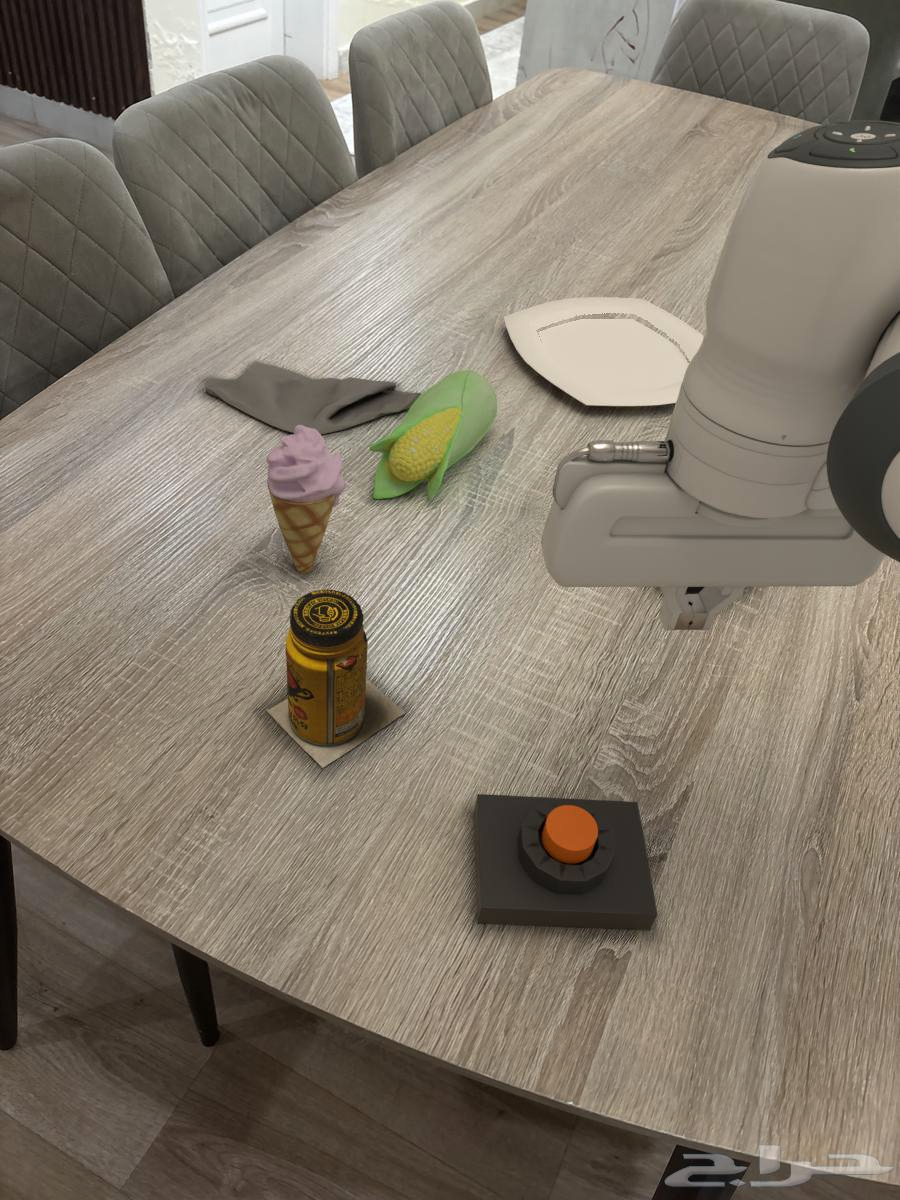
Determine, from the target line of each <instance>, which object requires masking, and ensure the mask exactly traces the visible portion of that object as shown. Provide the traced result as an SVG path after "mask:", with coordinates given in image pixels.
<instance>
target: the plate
mask: <svg viewBox="0 0 900 1200" xmlns="http://www.w3.org/2000/svg"><path fill="white" fill-rule="evenodd" d="M602 313H603V314H604V313H605V314H606V313H612V314H613V313H616V314H617V313H620V314H621V313H624V314H626V313H627V314H630V313H631V314H635V315H637V316H638V317H641V318H643V319H644V320H648V322H650V323H651V324H652V325H654V327H656V328H658V329H659V330H662V332H665V333H666V334H667V336H669V337H670V338H671V339H674V341H676V342H677V343H678V344H680V348H682V350H683V351H684V352H685V354H686V355H687V358H688V359H689V361H691V360H692V358H693V357H694V356H695V354H696V353H697V351H698V349H699V348H700V346H701V343H702V341H703V337H704V334H702V333H700V332H699V331H698V330H697V329H695V328H694V327H693V326H691V325H690V324H688V323H686V322H685V321H683V320H681V319H680V318H679V317H676V316H675V315H673V314H671V313H670V312H668V311H666V310H664V309H662V308H661V307H659V306H657V305H656V304H653V303H651V302H649V301H648V300H645V299H643V298H638V297H637V298H635V297H634V298H633V297H613V296H612V297H610V296H608V297H607V296H593V297H591V296H589V297H587V296H585V297H584V296H583V297H573V298H572V297H571V298H570V297H569V298H562V299H557V300H556V299H555V300H552V301H551V300H550V301H547V302H544V303H539V304H537V305H533V306H530V307H527V308H524V309H522V310H518V311H516V312H513V313H510V314H507V315H505V316H503V321H504V324H505V328H506V330H507V333H508V335H509V338H510V341H511V343H512V344H513V346H514V348H515V350H516V352H517V353H518V354H519V356H520V357H521V359H522V360H523V361H524V363H525V364H526V365H527V366H528V367H530V368H531V370H533V371H534V372H535V373H537V375H539V376H540V377H541V378H543V379H544V380H546V381H547V382H548V383H550V384H551V385H552V386H554V387H555V388H557V389H558V390H560V391H561V392H563V393H564V394H565V395H567V396H569V397H570V398H572V399H574V400H575V401H576V402H579V403H580V404H581V405H583V406H585V407H592V408H593V407H594V408H595V407H599V408H649V407H650V408H651V407H661V406H662V407H663V406H670V405H676V401H677V398H678V395H679V391H680V388H681V384H682V383H683V378H684V374H685V372H686V369H687V367H688V365H689V363H688V362H687V360H686V359H685V357H684V356H683V354H682V353H681V352H680V351H679V349H678V348H677V347H676V346H675V345H674V344H673V343H672V342H670V341H669V340H667V339H666V338H664V337H663V336H661V335H660V334H658V333H656V332H655V331H653V330H651V329H650V328H648V327H646V326H644V325H643V324H641V323H639V322H637V321H635V320H634V319H580V320H576V321H572V322H568V323H564V324H561V325H558V326H555V327H551V328H548V329H546V330H543V331H540V332H538V333H539V335H538V333H537V331H536V330H538V329H539V328H541V327H545V326H548V325H550V324H552V323H557V322H559V321H562V320H563V319H564V320H566V319H569V318H573V317H575V316H576V315H577V316H579V315H584V314H585V315H588V314H590V315H592V314H602ZM539 336H540V337H539ZM540 339H541V340H540ZM541 341H542V342H541Z"/></svg>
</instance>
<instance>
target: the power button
mask: <svg viewBox="0 0 900 1200" xmlns="http://www.w3.org/2000/svg"><path fill="white" fill-rule="evenodd" d="M597 836H598V827H597V824H596V822H595V820H594V818H593V817H592V816H591V815H590V814H589V813H588V812H587V811H586V810H584V809H582V808H580V807H577V806H573V805H563V806H559V807H557V808H555V809H554V810H552V811H551V812H550V813H549V815H548V817H547V819H546V823H545V826H544V829H543V833H542V843H543V846H544V848H545V850H546V851H547V852H548V854H549V855H550V856H551V857H553V858H554V859H556V860H558V861H560V862H562V863H567V864H576V863H580V862H582V861H584V860H586V859H587V858H588V857H589V856H590V854H591V852H592V850H593V847H594V845H595V842H596V839H597Z"/></svg>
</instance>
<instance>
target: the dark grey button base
mask: <svg viewBox="0 0 900 1200" xmlns="http://www.w3.org/2000/svg"><path fill="white" fill-rule="evenodd" d="M475 800H476V801H475V803H474V808H473V817H474V819H473V821H474V823H473V824H474V852H475V853H474V854H475V858H474V859H475V886H476V887H475V889H476V890H475V891H476V918H477V919H476V921H477V923H476V924H487V925H488V924H489V925H511V926H513V925H514V926H537V927H561V928H563V927H565V928H584V929H585V928H587V929H589V928H590V929H591V928H592V929H613V930H636V931H638V930H639V931H650V930H651V929H652V927H653V925H654V923H655V921H656V919H657V917H658V909H657V903H656V897H655V893H654V887H653V880H652V875H651V870H650V864H649V858H648V854H647V847H646V840H645V837H644V836H645V835H644V831H643V825H642V819H641V813H640V807H639V802H638V801H627V800H626V801H625V800H608V799H607V800H606V799H604V800H603V799H586V798H568V797H567V798H566V797H545V796H529V795H528V796H527V795H526V796H525V795H505V794H488V793H487V794H486V793H477V794H476V799H475ZM563 805H573V806H577V807H580V808H582V809H584V810H586V811H587V812H588V813H589V814H590V815H591V816H592V817H593V818H594V820H595V822H596V824H597V827H598V836H597V839H596V842H595V845H594V847H593V850H592V852H591V854H590V856H589V857H588V858H587V859H586V860H584V861H582V862H580V863H576V864H567V863H562V862H560V861H558V860H556V859H554V858H553V857H551V856H550V855H549V854H548V852H547V851H546V850H545V848H544V846H543V843H542V833H543V829H544V826H545V823H546V819H547V817H548V815H549V813H550V812H551V811H552V810H554V809H555V808H557V807H559V806H563Z"/></svg>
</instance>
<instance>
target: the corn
mask: <svg viewBox="0 0 900 1200" xmlns="http://www.w3.org/2000/svg"><path fill="white" fill-rule="evenodd" d="M420 394H421V395H420V396H419V398H418V399H417V400H416V401H415V402H414V403H413V405H412V406H411V407H410V408H408V411H407V412H406V414H405V416H404V418H403V419H402V421H401V422H400V423H399V424H397V426H396V427H395V428H394V429H393V430H392V431H391V433H390V434H389V435H387V436H385V437H384V438H382V439H379V440H378V441H375V443H373V444H371V445H370V446H369V451H371V452H373V453H382V454H381V458H380V460H379V462H378V464H377V466H376V470H375V475H374V487H373V494H372V497H373V499H374V500H384V499H393V498H397V497H400V496H402V495H405V494H406V493H408V492H410V491H412V490H413V489H415V488H416V487H417V486H419V484H421V483H423V482H425V481H427V484H426V492H427V495H428V500H432V499H433V498H434V497H435V496H436V494H437V493H438V491H439V489H440V487H441V486H442V482H443V479H444V475H445V473H446V471H447V470H448V469H449V468H451V466H453V465H454V464H456V463H457V462H459V461H461V459H463V458H464V457H465V456H467V455H468V454H469V453H470V452H472V451H473V450H474V449H475V447H476V446H477V445H478V444H479V443H480V441H482V439H483V438H484V437H485V435H486V434H487V433H488V432H489V430H490V429H491V428H492V427H493V425H494V423H495V420H496V418H497V416H498V398H497V394H496V391H495V389H494V387H493V385H492V384H491V382H490V381H489V379H488V378H486V377H485V376H483V374H480V373H479V372H476V371H474V370H472V369H469V370H466V369H464V370H457V371H454V372H452V373H450V374H447V375H446V376H445V377H443V378H442V379H440V380H439V381H438V382H437V383H435V384H434V385H432V386H431V387H429V388H427V389H426V390H425V391H424V392H422V393H420Z"/></svg>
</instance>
